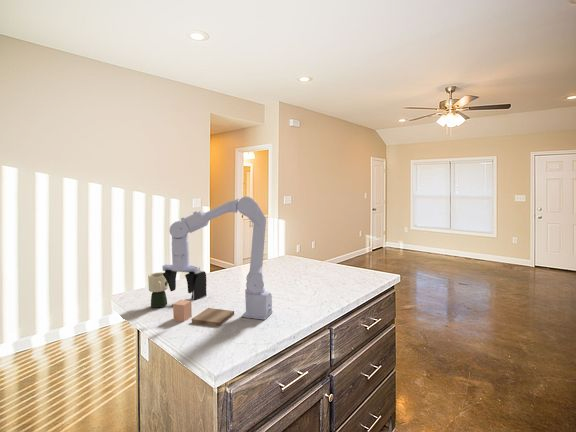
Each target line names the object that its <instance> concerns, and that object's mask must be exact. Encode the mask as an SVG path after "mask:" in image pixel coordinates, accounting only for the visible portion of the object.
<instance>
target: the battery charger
mask: <svg viewBox="0 0 576 432" xmlns="http://www.w3.org/2000/svg"><path fill="white" fill-rule="evenodd" d="M207 295H208V294H207V273H206V272H205V270H200V273H199V275H198V277H197V279H196V282H195V285H194V290H193V292H192V293H191V296H190V297H191V299H192V300H198V299H202V298H204V297H207Z"/></svg>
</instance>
